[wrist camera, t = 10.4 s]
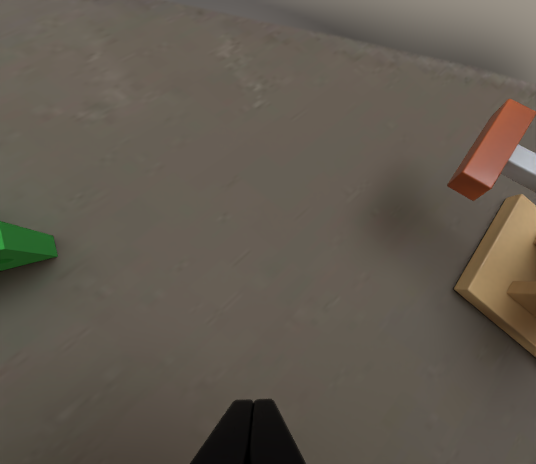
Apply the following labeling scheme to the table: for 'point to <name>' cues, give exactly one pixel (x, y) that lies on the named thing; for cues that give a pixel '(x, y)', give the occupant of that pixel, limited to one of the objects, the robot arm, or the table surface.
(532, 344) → the bracket
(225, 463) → the robot arm
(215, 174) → the table surface
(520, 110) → the lever
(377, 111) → the table surface
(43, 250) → the pipe clamp
